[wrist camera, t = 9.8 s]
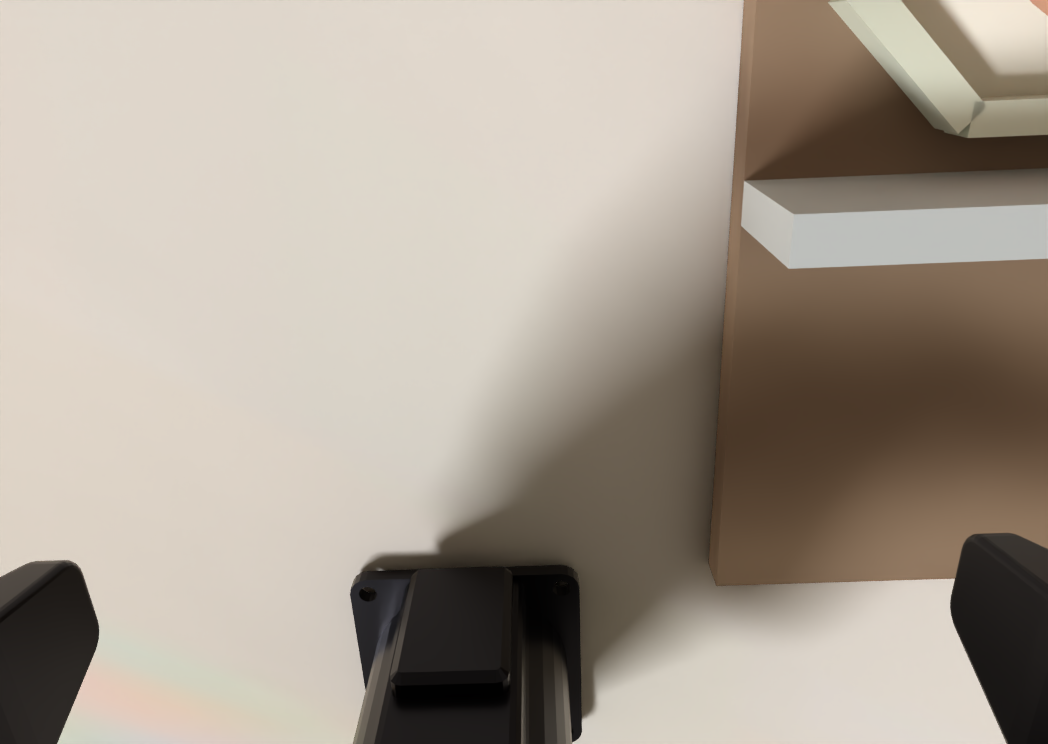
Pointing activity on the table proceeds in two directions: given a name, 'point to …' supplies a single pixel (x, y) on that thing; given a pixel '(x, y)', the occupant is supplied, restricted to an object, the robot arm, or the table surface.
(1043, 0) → the rubber ball
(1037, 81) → the ring
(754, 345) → the fence board
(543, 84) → the table surface
